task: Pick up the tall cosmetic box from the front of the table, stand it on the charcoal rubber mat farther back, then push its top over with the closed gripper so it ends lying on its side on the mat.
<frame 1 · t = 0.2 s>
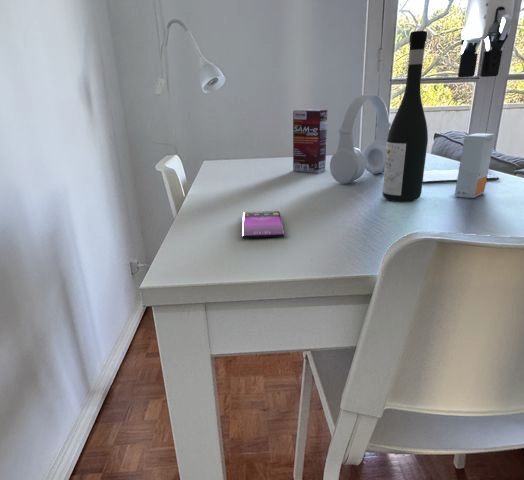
hand: (476, 76, 91), 22 cm above the table, tool pointing down, fingers open, 9 cm apart
headphones: (362, 178, 124), on the table
mat: (443, 176, 121), on the table
wine bottle: (400, 199, 101), on the table
cosmetic box: (469, 196, 102), on the table
supplement box: (309, 171, 137), on the table
smartphone: (262, 227, 86), on the table
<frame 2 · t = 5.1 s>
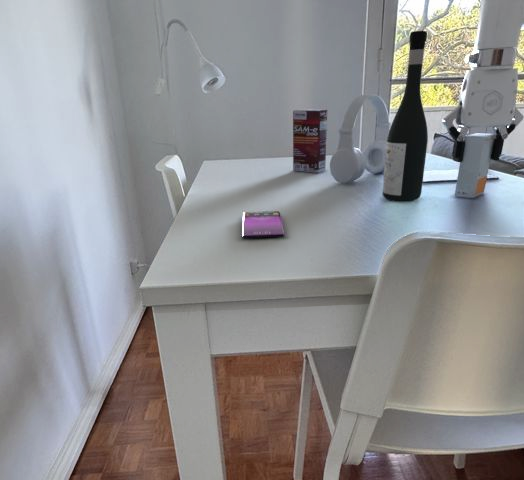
hand: (475, 159, 98), 7 cm above the table, tool pointing down, fingers closed on cosmetic box, 7 cm apart
cosmetic box: (469, 196, 102), on the table, touching gripper
everything else where it was.
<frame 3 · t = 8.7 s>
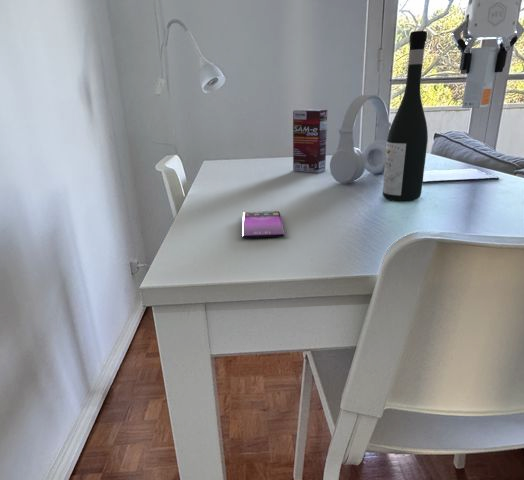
hand: (481, 72, 107), 23 cm above the table, tool pointing down, fingers closed on cosmetic box, 7 cm apart
cosmetic box: (475, 108, 111), point 16 cm above the table, touching gripper
everything else where it was.
when the fingers open (8 cm above the table, at t = 12.8 s): cosmetic box stays where it is, resting on mat.
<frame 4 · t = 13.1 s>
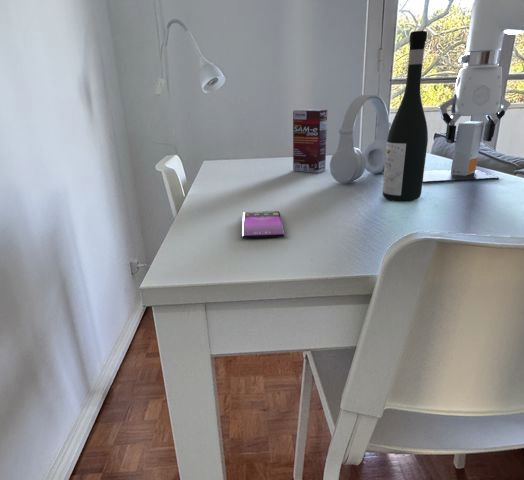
hand: (468, 141, 117), 8 cm above the table, tool pointing down, fingers open, 9 cm apart
cosmetic box: (462, 174, 121), resting on mat
everything else where it was.
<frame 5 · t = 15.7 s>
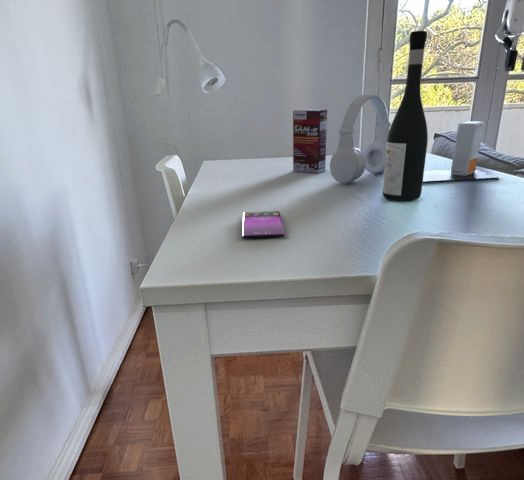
hand: (517, 69, 110), 23 cm above the table, tool pointing down, fingers open, 3 cm apart
nothing on the table moved.
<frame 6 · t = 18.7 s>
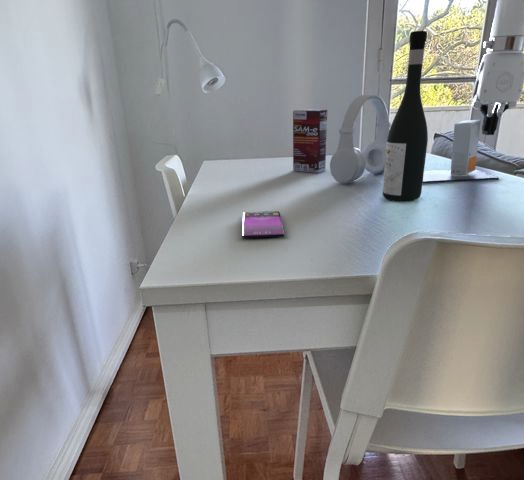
hand: (487, 134, 117), 10 cm above the table, tool pointing down, fingers closed
cosmetic box: (463, 173, 121), point 1 cm above the table, touching gripper, mat
everything else where it was.
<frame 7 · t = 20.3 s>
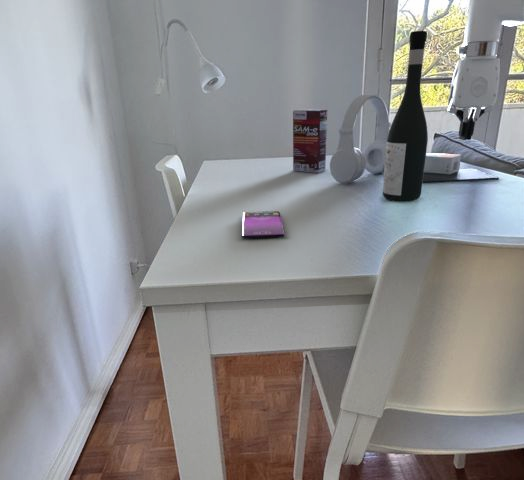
hand: (464, 139, 117), 9 cm above the table, tool pointing down, fingers closed
cosmetic box: (456, 164, 121), point 3 cm above the table, touching mat
everything else where it was.
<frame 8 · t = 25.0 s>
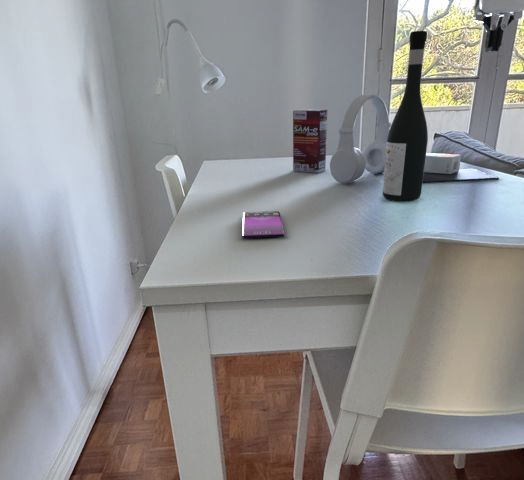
hand: (491, 51, 108), 27 cm above the table, tool pointing down, fingers closed
nothing on the table moved.
at the end: cosmetic box tilted 91°; cosmetic box inside the target area on the mat (4.0 cm from its centre), point 2.7 cm above the mat's base; the gripper is holding nothing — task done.
